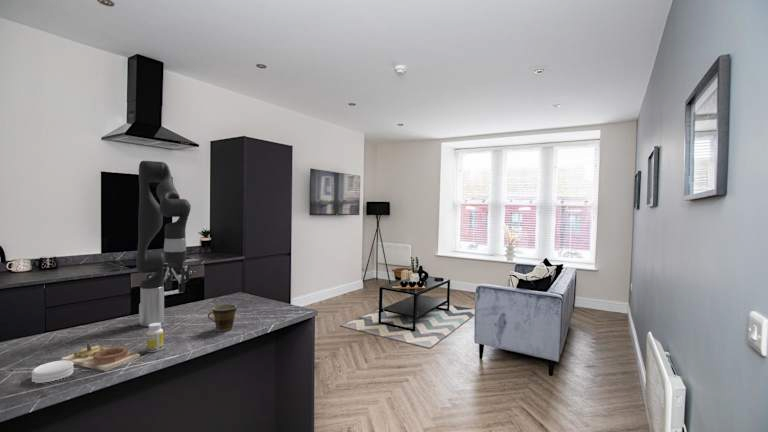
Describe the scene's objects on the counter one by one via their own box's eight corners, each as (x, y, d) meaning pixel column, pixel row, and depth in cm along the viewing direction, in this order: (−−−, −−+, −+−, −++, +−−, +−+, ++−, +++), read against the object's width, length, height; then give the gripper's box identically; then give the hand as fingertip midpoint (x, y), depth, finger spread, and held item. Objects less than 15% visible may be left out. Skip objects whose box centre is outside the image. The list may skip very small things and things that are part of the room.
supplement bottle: (160, 345, 143) (160, 321, 143) (165, 349, 140) (165, 324, 139) (144, 349, 139) (144, 324, 139) (149, 353, 135) (149, 327, 135)
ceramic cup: (227, 324, 170) (227, 302, 169) (241, 328, 165) (241, 306, 164) (201, 332, 159) (201, 309, 158) (215, 336, 153) (215, 313, 153)
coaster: (28, 387, 110) (28, 376, 110) (34, 375, 118) (34, 364, 118) (71, 378, 116) (71, 368, 116) (75, 367, 124) (75, 357, 124)
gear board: (60, 361, 128) (60, 348, 127) (97, 348, 139) (96, 336, 139) (105, 371, 121) (105, 357, 121) (139, 357, 132) (139, 344, 132)
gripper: (154, 249, 142) (155, 290, 143) (176, 252, 135) (176, 295, 136) (173, 247, 149) (173, 286, 149) (195, 250, 142) (195, 291, 143)
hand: (175, 290), depth 143 cm, fingers open, 8 cm apart
